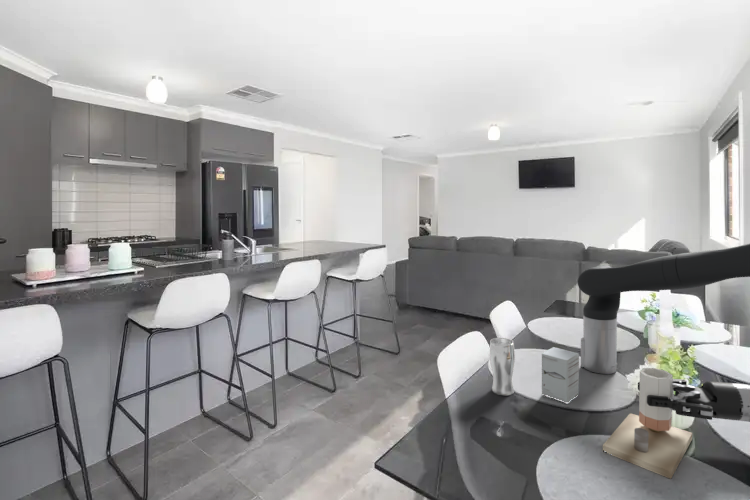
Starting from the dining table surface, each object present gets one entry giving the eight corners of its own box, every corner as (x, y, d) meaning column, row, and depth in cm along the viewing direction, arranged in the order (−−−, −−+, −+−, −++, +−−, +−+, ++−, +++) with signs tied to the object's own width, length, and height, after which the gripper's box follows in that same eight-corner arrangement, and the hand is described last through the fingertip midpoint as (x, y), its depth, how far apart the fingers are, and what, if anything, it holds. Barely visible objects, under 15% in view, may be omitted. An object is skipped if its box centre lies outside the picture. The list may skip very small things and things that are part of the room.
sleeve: (636, 423, 88) (637, 373, 86) (644, 414, 91) (644, 366, 90) (666, 433, 83) (667, 381, 82) (673, 423, 87) (674, 372, 86)
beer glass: (517, 397, 108) (516, 345, 107) (491, 396, 110) (490, 345, 108) (513, 385, 115) (512, 337, 113) (489, 385, 116) (488, 337, 115)
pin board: (602, 451, 83) (602, 427, 83) (630, 418, 95) (630, 397, 94) (671, 479, 74) (671, 452, 73) (692, 439, 86) (692, 415, 85)
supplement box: (540, 396, 108) (540, 352, 107) (553, 387, 113) (553, 345, 111) (567, 405, 102) (567, 360, 101) (579, 396, 107) (579, 352, 106)
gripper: (718, 370, 88) (633, 364, 94) (756, 401, 75) (653, 392, 80) (717, 401, 89) (632, 394, 94) (754, 437, 75) (653, 426, 81)
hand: (642, 393), depth 87 cm, fingers closed on sleeve, 6 cm apart
